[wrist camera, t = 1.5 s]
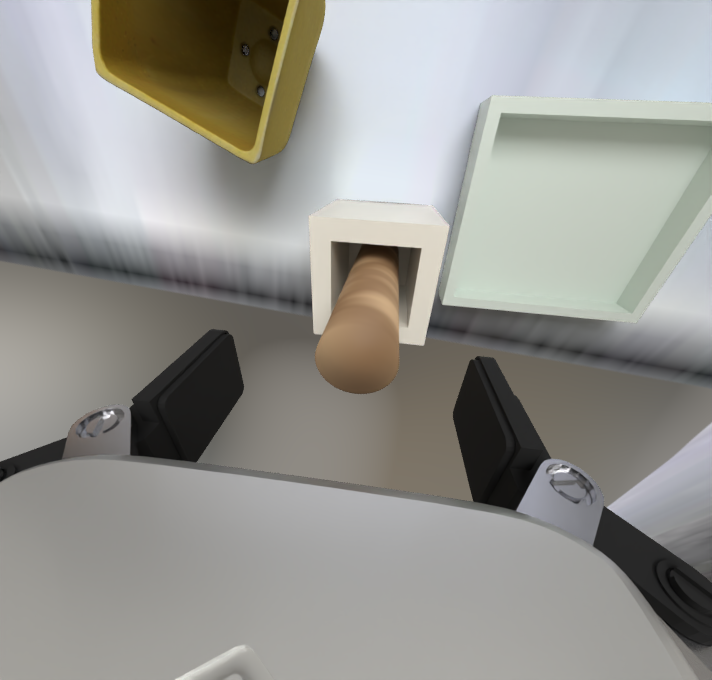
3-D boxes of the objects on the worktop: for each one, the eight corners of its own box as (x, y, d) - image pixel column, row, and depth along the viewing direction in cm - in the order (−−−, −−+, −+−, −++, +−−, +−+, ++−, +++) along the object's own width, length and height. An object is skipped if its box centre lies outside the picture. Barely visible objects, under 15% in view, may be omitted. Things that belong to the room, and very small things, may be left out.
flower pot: (302, 167, 23) (255, 168, 15) (199, 104, 21) (89, 71, 14) (351, 24, 18) (317, -76, 10) (222, -67, 17) (76, -259, 9)
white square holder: (432, 205, 23) (449, 226, 15) (416, 295, 27) (423, 345, 20) (337, 198, 23) (308, 215, 16) (336, 287, 28) (313, 333, 20)
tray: (735, 113, 18) (786, 105, 15) (614, 308, 25) (636, 323, 23) (480, 103, 19) (491, 95, 17) (438, 292, 27) (442, 304, 24)
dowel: (401, 234, 23) (404, 330, 10) (396, 273, 25) (393, 398, 12) (361, 231, 24) (313, 321, 10) (359, 270, 26) (316, 388, 12)
